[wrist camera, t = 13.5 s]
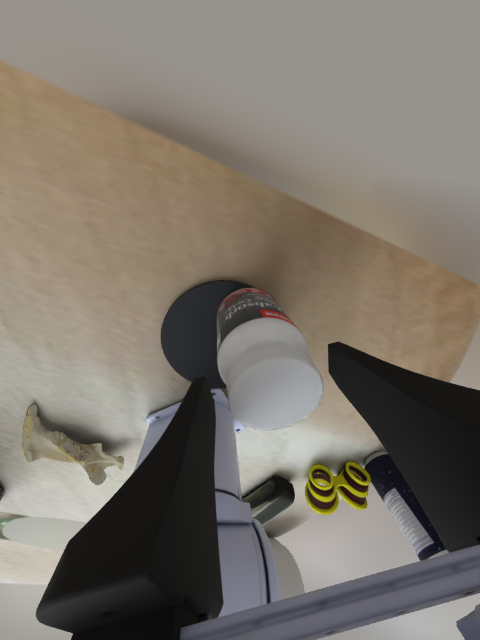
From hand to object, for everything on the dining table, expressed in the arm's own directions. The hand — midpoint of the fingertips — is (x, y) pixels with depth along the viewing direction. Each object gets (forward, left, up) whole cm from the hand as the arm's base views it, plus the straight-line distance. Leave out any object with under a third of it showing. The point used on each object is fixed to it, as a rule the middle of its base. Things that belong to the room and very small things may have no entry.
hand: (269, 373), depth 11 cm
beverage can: (+10, -34, -9) cm, 37 cm away
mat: (-3, -1, -8) cm, 9 cm away
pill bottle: (0, 0, -8) cm, 8 cm away
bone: (-26, -6, -8) cm, 28 cm away
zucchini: (-5, -29, -7) cm, 31 cm away
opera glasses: (+2, -32, -9) cm, 34 cm away
